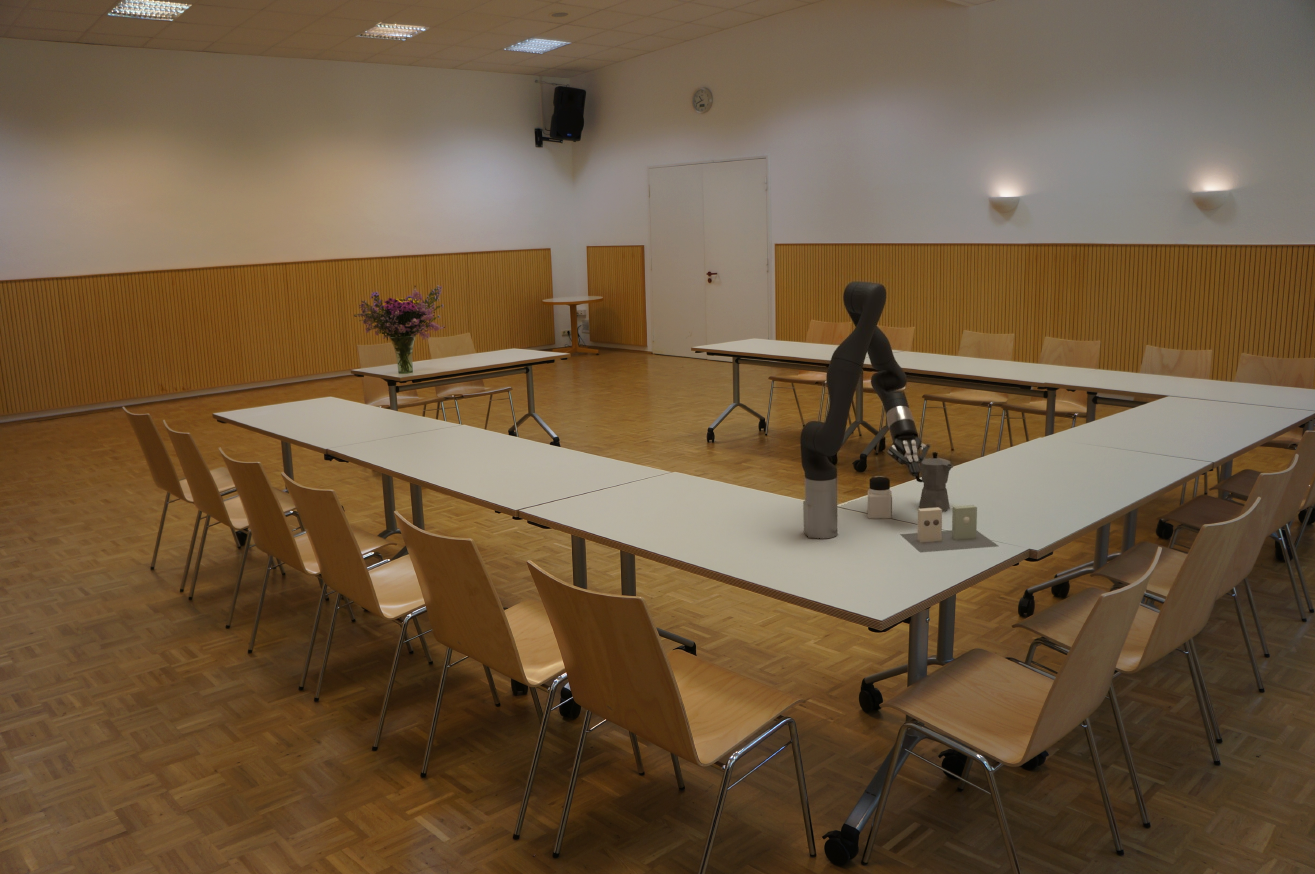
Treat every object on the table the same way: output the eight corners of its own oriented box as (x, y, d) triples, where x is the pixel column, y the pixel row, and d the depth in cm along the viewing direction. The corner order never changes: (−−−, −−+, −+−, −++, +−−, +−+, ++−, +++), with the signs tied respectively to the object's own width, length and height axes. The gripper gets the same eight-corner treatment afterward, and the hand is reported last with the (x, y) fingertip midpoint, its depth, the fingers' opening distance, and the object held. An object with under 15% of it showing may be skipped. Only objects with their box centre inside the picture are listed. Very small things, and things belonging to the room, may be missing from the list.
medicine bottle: (891, 518, 287) (892, 480, 285) (867, 518, 289) (867, 480, 286) (891, 512, 294) (891, 474, 292) (867, 511, 296) (867, 474, 293)
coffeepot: (961, 509, 293) (962, 453, 290) (941, 515, 288) (942, 458, 284) (921, 499, 306) (922, 445, 302) (902, 505, 300) (902, 450, 297)
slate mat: (920, 554, 255) (920, 552, 255) (899, 536, 271) (899, 534, 271) (999, 548, 257) (999, 546, 257) (974, 530, 273) (974, 528, 273)
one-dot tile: (955, 540, 264) (956, 508, 262) (952, 537, 266) (952, 506, 264) (976, 538, 264) (977, 507, 262) (972, 535, 267) (973, 504, 265)
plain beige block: (920, 542, 263) (921, 511, 261) (917, 539, 265) (917, 508, 263) (941, 541, 263) (942, 509, 261) (938, 538, 266) (938, 507, 264)
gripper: (882, 419, 277) (896, 469, 268) (926, 416, 278) (942, 466, 269) (876, 433, 284) (890, 483, 274) (919, 430, 285) (934, 480, 275)
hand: (916, 474), depth 272 cm, fingers closed
